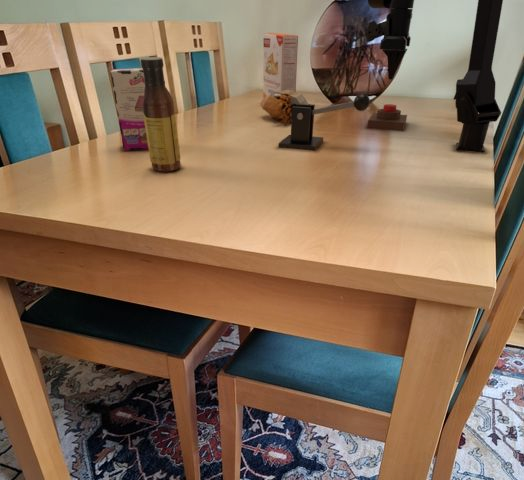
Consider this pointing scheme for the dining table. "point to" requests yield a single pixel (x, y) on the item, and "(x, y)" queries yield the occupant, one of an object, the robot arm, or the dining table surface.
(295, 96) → the nautilus
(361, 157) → the dining table surface
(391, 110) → the button
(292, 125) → the bracket
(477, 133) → the robot arm
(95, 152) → the dining table surface
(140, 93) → the candy bar box
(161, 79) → the sauce bottle
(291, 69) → the cracker box
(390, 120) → the button block
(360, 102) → the lever
